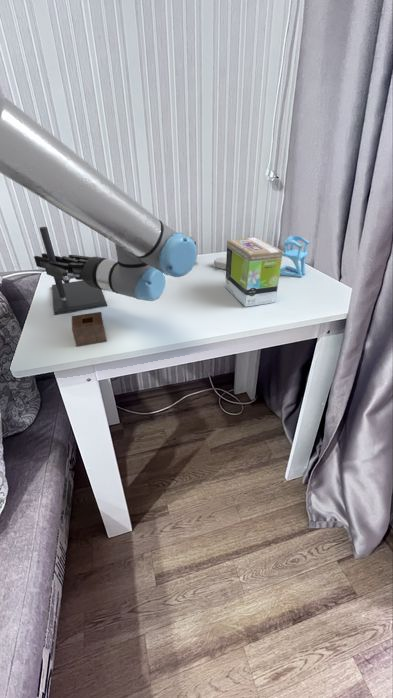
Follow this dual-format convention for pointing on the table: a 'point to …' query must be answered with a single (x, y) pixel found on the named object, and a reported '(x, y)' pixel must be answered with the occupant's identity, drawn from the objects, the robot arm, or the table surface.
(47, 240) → the stylus
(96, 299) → the dark grey flat block
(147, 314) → the table surface
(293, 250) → the chair
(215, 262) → the electronic device
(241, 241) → the tea box
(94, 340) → the pen stand
